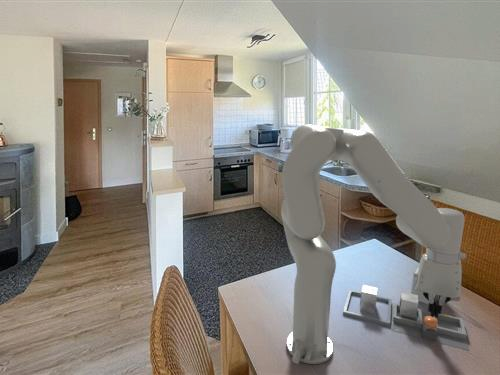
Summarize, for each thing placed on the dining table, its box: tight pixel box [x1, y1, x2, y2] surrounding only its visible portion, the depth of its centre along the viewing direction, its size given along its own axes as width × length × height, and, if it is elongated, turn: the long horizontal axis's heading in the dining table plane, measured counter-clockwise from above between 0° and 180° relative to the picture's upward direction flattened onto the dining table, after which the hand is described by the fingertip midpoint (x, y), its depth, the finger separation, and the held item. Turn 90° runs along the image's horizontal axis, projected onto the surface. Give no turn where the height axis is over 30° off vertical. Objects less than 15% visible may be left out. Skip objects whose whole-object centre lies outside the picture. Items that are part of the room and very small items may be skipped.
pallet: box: [391, 302, 470, 352], centre depth 95 cm, size 13×19×4 cm
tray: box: [342, 289, 393, 327], centre depth 104 cm, size 14×14×2 cm
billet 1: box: [359, 284, 379, 315], centre depth 103 cm, size 4×5×7 cm
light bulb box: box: [410, 265, 437, 305], centre depth 110 cm, size 11×7×11 cm, turn 141°
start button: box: [424, 316, 438, 328], centre depth 90 cm, size 3×3×2 cm
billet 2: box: [399, 291, 419, 321], centre depth 98 cm, size 4×5×7 cm
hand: (433, 314), depth 89 cm, fingers closed
